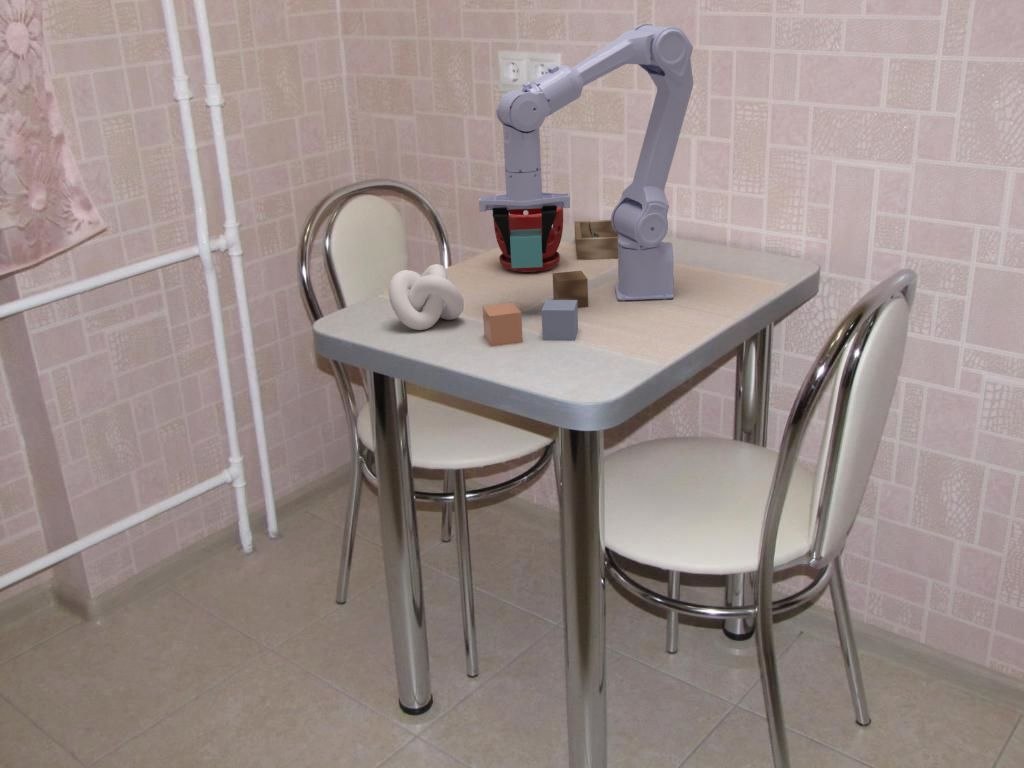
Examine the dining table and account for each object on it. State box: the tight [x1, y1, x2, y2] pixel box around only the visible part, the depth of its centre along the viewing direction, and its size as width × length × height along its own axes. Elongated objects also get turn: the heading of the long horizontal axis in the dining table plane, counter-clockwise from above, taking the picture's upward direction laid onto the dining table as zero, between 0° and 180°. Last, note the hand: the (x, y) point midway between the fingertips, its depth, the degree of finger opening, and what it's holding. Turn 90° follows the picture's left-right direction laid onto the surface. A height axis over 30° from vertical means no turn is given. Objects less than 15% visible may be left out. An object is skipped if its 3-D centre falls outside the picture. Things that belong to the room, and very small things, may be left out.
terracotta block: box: [482, 302, 524, 347], centre depth 165 cm, size 5×5×5 cm
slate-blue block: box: [541, 299, 579, 341], centre depth 166 cm, size 5×5×5 cm
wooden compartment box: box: [574, 219, 618, 260], centre depth 210 cm, size 14×14×4 cm
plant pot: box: [492, 207, 564, 273], centre depth 200 cm, size 13×13×12 cm
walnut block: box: [552, 270, 589, 309], centre depth 180 cm, size 5×5×5 cm
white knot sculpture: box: [388, 263, 465, 331], centre depth 173 cm, size 11×12×9 cm
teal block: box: [510, 229, 542, 268], centre depth 173 cm, size 5×5×5 cm
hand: (526, 252), depth 173 cm, fingers closed on teal block, 5 cm apart
